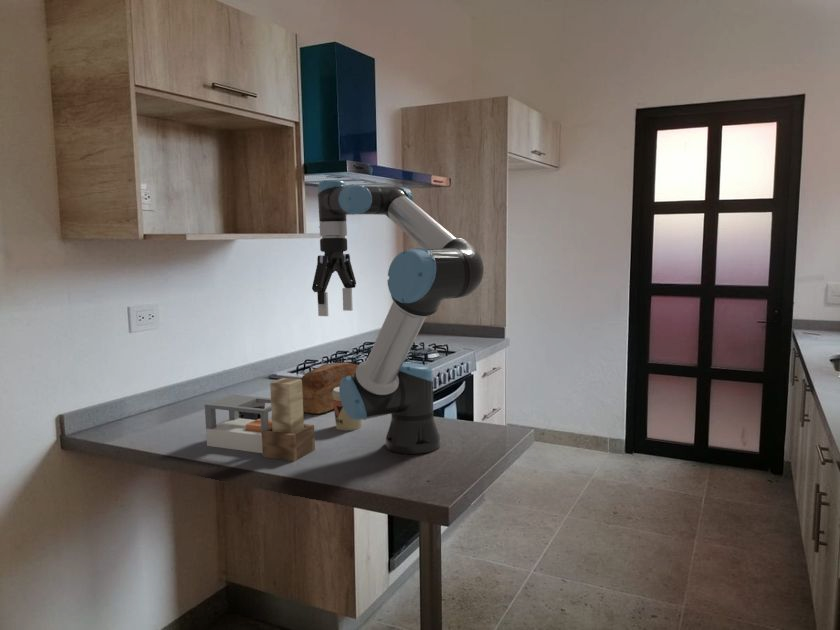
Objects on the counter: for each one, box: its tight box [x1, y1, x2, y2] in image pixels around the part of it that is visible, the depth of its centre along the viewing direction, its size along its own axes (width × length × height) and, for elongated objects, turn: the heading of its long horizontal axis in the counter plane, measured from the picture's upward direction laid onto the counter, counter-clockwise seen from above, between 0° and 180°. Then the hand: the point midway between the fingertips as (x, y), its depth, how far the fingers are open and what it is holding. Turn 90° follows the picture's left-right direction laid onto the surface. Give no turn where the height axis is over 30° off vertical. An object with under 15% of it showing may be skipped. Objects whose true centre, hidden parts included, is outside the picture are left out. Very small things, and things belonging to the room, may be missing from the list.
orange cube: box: [246, 419, 272, 432], centre depth 187 cm, size 6×6×6 cm
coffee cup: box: [332, 387, 363, 432], centre depth 203 cm, size 9×9×12 cm
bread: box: [300, 361, 359, 415], centre depth 229 cm, size 12×28×14 cm, turn 147°
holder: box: [262, 423, 316, 462], centre depth 179 cm, size 10×10×7 cm
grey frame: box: [204, 394, 272, 454], centre depth 188 cm, size 20×12×12 cm, turn 67°
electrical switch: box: [239, 402, 266, 420], centre depth 204 cm, size 9×5×9 cm, turn 113°
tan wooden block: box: [269, 377, 305, 434], centre depth 178 cm, size 6×6×20 cm
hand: (336, 313), depth 187 cm, fingers open, 13 cm apart
